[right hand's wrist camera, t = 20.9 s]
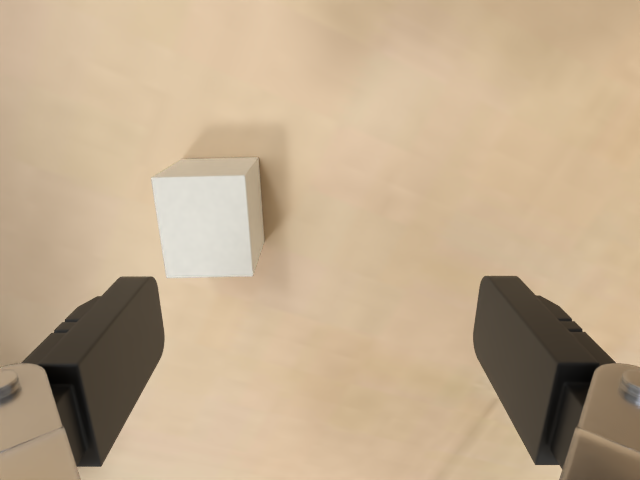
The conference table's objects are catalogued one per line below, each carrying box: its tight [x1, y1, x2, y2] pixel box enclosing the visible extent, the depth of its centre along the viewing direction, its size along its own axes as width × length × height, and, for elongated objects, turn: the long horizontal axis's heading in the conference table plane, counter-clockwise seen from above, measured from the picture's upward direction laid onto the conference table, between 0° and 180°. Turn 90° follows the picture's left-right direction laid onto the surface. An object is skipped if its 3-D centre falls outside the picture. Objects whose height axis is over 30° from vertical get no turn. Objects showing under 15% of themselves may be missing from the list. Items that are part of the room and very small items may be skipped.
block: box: [151, 157, 264, 278], centre depth 23 cm, size 5×4×5 cm
